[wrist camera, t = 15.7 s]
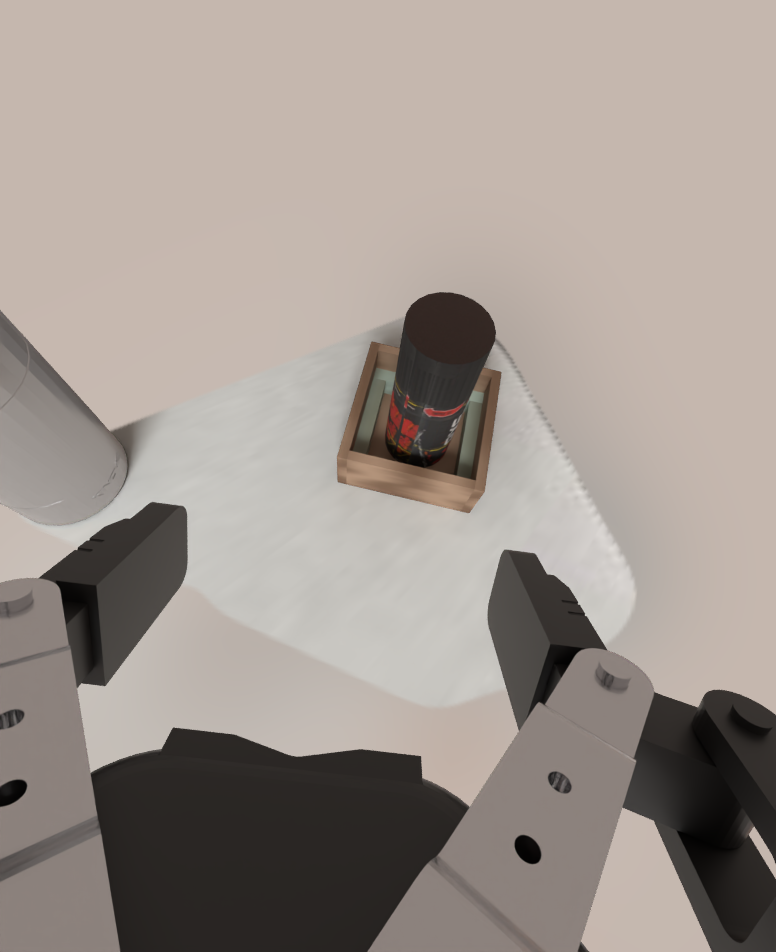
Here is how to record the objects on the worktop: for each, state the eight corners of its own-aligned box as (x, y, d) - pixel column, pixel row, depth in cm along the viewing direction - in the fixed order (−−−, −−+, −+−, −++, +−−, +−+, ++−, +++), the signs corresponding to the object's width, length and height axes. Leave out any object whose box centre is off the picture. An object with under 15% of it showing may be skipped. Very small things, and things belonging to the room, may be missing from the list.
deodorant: (396, 404, 45) (419, 281, 32) (455, 423, 45) (504, 308, 31) (375, 455, 43) (392, 346, 29) (438, 476, 42) (483, 376, 29)
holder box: (337, 482, 42) (337, 456, 37) (368, 375, 47) (371, 341, 42) (469, 513, 42) (484, 491, 37) (486, 402, 47) (501, 372, 42)
